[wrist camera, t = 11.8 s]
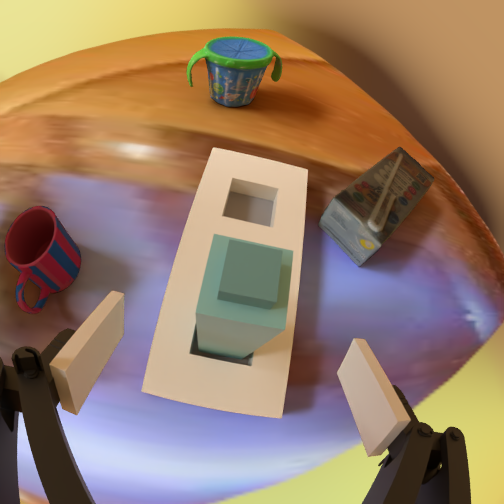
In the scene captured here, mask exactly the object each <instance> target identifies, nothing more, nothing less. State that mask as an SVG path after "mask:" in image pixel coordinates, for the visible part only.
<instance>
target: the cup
mask: <svg viewBox="0 0 504 504" xmlns="http://www.w3.org/2000/svg"><path fill="white" fill-rule="evenodd" d="M5 255H6V257H7V260H8V261H9V263H10V264H11V265H12V266H14V267H15V268H16V269H17V270H18V271H20V272H21V274H20V276H19V279H18V282H17V286H16V300H17V303H18V305H19V307H20V308H21V309H22V310H23V311H25V312H27V313H31V314H36V313H39V312H40V311H41V310H42V308H43V307H44V305H45V303H46V301H47V298H48V295H49V293H56V292H60V291H62V290H64V289H66V288H67V287H68V286H69V285H70V284H71V283H72V282H73V281H74V280H75V278H76V276H77V274H78V272H79V269H80V264H81V255H80V251H79V249H78V247H77V246H76V244H75V243H74V241H73V240H72V238H71V237H70V236H69V234H68V233H67V231H66V230H65V228H64V227H63V226H62V224H61V223H60V221H59V220H58V218H57V217H56V215H55V213H54V212H53V211H52V210H51V209H49V208H48V207H45V206H35V207H32V208H30V209H27V210H26V211H24V212H23V213H21V214H20V215H19V216H18V217H17V218H16V219H15V220H14V222H13V223H12V225H11V226H10V228H9V230H8V233H7V235H6V239H5ZM28 279H29V280H30V281H32V282H33V283H34V284H35V285H37V286H38V287H39V288H41V293H40V297H39V299H38V302H37V303H36V305H35V306H34V307H33V308H32V309H31V308H30V307H28V305H27V304H26V302H25V300H24V287H25V284H26V282H27V280H28Z"/></svg>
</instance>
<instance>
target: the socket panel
mask: <svg viewBox="0 0 504 504" xmlns="http://www.w3.org/2000/svg"><path fill="white" fill-rule="evenodd" d="M307 176H308V170H307V169H303V168H300V167H296V166H292V165H288V164H284V163H281V162H277V161H273V160H269V159H264V158H260V157H256V156H252V155H247V154H243V153H238V152H233V151H229V150H224V149H219V148H214V147H213V149H212V152H211V155H210V157H209V160H208V163H207V165H206V168H205V171H204V173H203V176H202V179H201V182H200V185H199V187H198V190H197V193H196V196H195V199H194V202H193V205H192V207H191V210H190V213H189V216H188V219H187V222H186V226H185V229H184V232H183V235H182V238H181V241H180V244H179V248H178V251H177V254H176V257H175V261H174V264H173V267H172V271H171V274H170V278H169V281H168V285H167V288H166V292H165V295H164V299H163V303H162V306H161V310H160V314H159V318H158V322H157V326H156V329H155V333H154V338H153V342H152V346H151V350H150V354H149V359H148V363H147V368H146V372H145V377H144V381H143V386H142V392H145V393H149V394H152V395H156V396H159V397H163V398H167V399H171V400H175V401H179V402H183V403H188V404H192V405H197V406H202V407H207V408H212V409H217V410H223V411H228V412H234V413H241V414H248V415H255V416H263V417H272V418H282V413H283V406H284V400H285V394H286V387H287V380H288V373H289V366H290V359H291V351H292V344H293V336H294V328H295V319H296V310H297V301H298V292H299V282H300V272H301V261H302V249H303V237H304V224H305V210H306V194H307ZM214 234H218V235H223V236H227V237H232V238H237V239H241V240H246V241H251V242H255V243H260V244H264V245H269V246H274V247H278V248H283V249H287V250H292V251H293V261H292V272H291V282H290V291H289V301H288V309H287V318H286V327H285V330H284V331H283V332H281V333H280V334H278V335H277V336H275V337H274V338H273V339H271V340H270V341H268V342H267V343H265V344H264V345H262V346H261V347H259V348H258V349H256V350H255V351H253V352H252V353H250V354H249V355H247V356H246V357H244V358H243V359H241V360H240V359H234V358H229V357H223V356H218V355H213V354H208V353H203V352H199V348H198V338H197V326H196V314H195V312H196V308H197V303H198V299H199V294H200V290H201V286H202V281H203V277H204V273H205V268H206V264H207V260H208V256H209V252H210V248H211V244H212V240H213V236H214Z"/></svg>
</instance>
